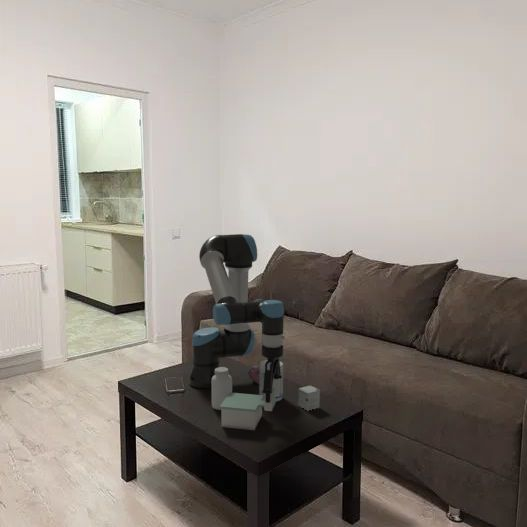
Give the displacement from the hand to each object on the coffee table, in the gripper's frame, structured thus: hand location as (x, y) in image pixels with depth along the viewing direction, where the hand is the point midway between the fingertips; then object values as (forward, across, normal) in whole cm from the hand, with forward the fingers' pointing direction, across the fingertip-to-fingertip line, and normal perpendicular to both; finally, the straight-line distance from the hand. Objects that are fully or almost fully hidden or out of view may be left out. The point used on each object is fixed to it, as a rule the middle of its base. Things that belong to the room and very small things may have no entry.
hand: (272, 403), depth 184 cm
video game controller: (+8, +42, +15) cm, 45 cm away
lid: (+2, 0, +8) cm, 9 cm away
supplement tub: (+8, +23, +5) cm, 25 cm away
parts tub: (+8, 0, +11) cm, 14 cm away
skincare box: (+8, +18, -11) cm, 23 cm away
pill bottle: (+8, +11, +22) cm, 26 cm away
